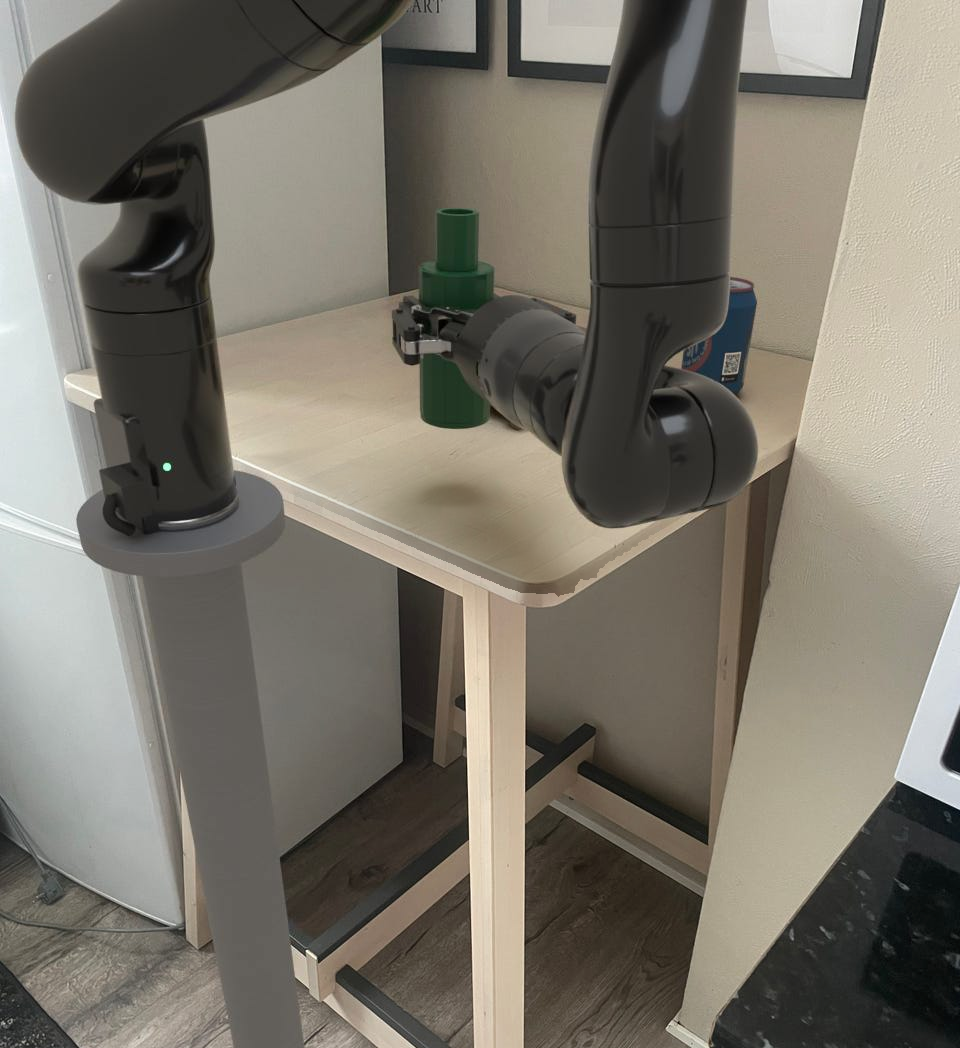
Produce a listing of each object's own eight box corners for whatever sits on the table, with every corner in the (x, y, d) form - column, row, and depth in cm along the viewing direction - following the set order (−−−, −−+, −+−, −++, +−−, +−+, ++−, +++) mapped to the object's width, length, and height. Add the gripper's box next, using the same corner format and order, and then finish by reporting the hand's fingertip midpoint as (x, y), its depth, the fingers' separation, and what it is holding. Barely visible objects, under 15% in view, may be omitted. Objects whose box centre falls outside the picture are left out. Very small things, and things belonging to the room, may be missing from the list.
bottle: (450, 434, 79) (451, 221, 70) (406, 414, 82) (403, 209, 74) (503, 419, 82) (511, 213, 73) (459, 400, 86) (462, 202, 77)
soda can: (667, 386, 111) (681, 276, 105) (721, 381, 113) (738, 273, 107) (697, 407, 106) (713, 292, 99) (753, 401, 108) (773, 288, 101)
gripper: (630, 301, 67) (527, 251, 80) (432, 319, 62) (357, 262, 75) (619, 408, 71) (523, 343, 84) (432, 432, 66) (361, 359, 79)
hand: (445, 305), depth 80 cm, fingers closed on bottle, 6 cm apart
